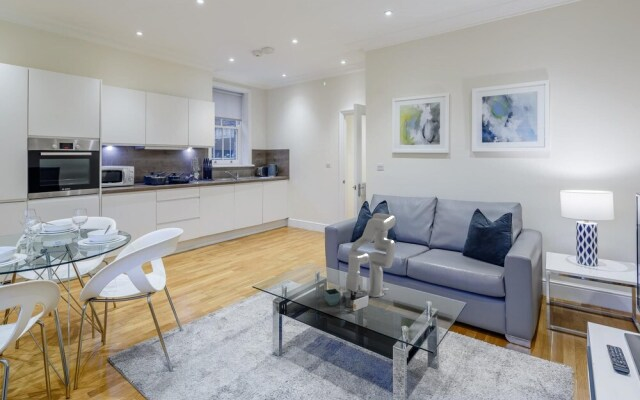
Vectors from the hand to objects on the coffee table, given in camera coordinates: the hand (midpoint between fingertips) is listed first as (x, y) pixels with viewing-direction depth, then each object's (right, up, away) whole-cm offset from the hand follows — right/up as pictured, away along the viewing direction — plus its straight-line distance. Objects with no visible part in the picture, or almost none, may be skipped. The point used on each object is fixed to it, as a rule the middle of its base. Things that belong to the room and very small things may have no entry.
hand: (352, 299), depth 232 cm
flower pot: (-14, -6, +8) cm, 17 cm away
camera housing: (+3, -5, +9) cm, 11 cm away
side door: (+6, -6, +1) cm, 9 cm away
